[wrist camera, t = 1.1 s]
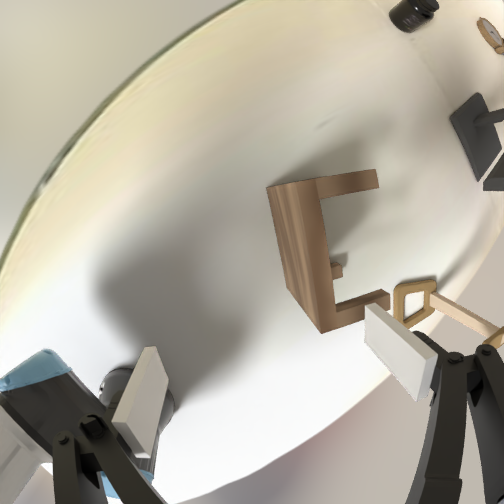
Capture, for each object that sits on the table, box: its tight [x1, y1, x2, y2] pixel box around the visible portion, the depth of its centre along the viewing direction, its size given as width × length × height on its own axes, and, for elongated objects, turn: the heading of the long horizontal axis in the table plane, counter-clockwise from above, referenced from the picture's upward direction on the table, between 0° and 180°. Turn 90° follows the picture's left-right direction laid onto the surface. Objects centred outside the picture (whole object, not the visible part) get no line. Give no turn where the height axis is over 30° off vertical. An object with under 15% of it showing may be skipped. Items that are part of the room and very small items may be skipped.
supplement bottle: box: [389, 0, 439, 33], centre depth 30 cm, size 7×7×12 cm
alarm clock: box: [477, 17, 504, 55], centre depth 36 cm, size 11×5×15 cm
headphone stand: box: [394, 279, 504, 349], centre depth 37 cm, size 10×11×22 cm
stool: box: [266, 169, 390, 334], centre depth 35 cm, size 9×16×16 cm, turn 13°
